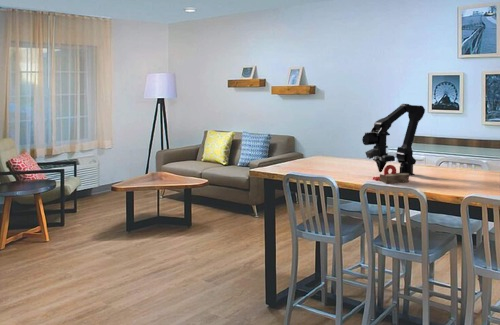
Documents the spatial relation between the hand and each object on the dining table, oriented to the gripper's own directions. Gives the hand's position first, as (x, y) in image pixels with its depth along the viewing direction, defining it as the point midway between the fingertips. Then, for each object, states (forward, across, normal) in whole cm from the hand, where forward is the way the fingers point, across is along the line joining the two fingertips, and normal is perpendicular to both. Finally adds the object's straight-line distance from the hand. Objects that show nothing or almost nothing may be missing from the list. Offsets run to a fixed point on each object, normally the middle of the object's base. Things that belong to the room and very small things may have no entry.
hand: (380, 172), depth 267 cm
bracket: (+3, +4, -1) cm, 6 cm away
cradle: (+3, +12, 0) cm, 12 cm away
